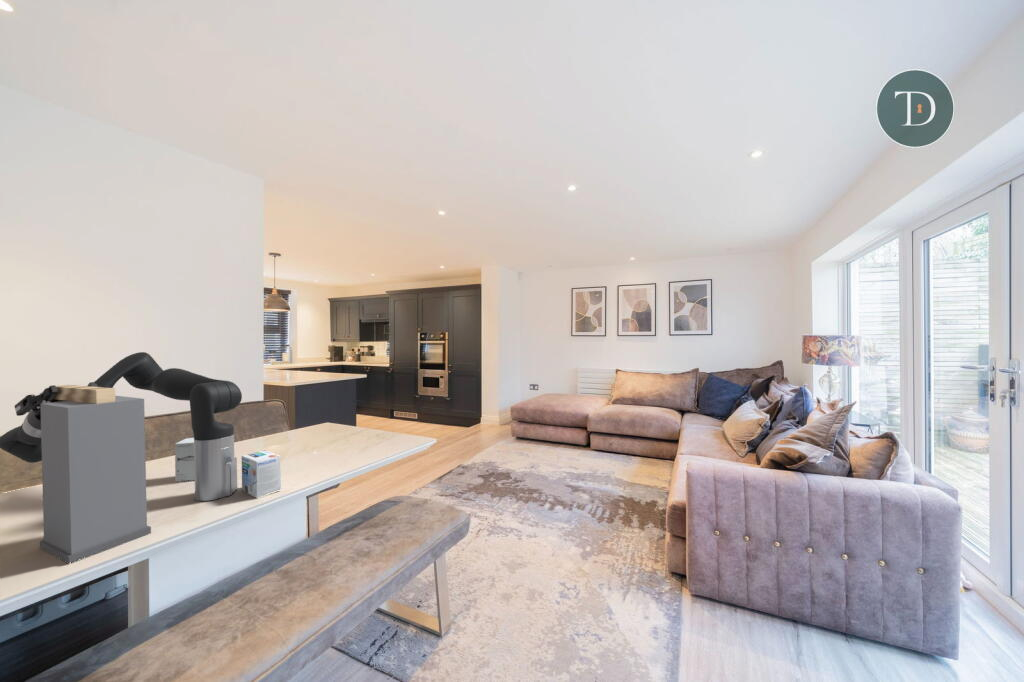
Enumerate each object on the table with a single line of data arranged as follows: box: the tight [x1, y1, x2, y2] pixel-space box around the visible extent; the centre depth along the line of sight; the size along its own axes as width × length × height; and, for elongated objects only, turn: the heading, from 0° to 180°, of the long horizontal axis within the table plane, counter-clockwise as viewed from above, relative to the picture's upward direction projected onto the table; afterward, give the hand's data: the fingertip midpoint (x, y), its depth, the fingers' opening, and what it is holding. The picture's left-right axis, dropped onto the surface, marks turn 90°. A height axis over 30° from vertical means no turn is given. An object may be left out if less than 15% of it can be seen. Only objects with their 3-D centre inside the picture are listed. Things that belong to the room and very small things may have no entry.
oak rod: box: [48, 384, 116, 404], centre depth 87 cm, size 22×3×3 cm, turn 68°
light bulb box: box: [241, 450, 282, 499], centre depth 112 cm, size 11×7×11 cm, turn 56°
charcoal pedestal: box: [39, 395, 152, 564], centre depth 85 cm, size 15×13×32 cm
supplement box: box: [174, 437, 195, 483], centre depth 124 cm, size 7×7×13 cm
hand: (74, 387), depth 89 cm, fingers open, 5 cm apart
